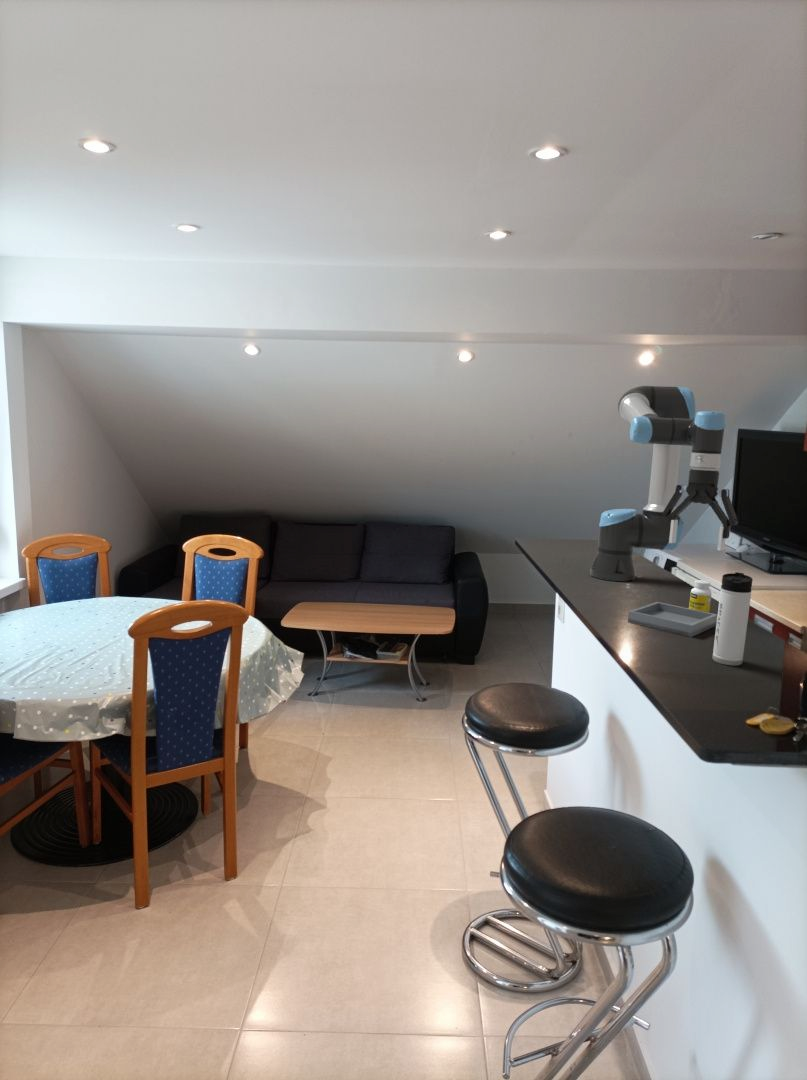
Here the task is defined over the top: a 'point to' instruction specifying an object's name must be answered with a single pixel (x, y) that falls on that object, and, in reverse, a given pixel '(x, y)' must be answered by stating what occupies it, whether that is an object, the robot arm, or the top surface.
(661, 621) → the tray
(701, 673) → the top surface
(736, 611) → the travel mug
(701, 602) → the supplement bottle
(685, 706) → the top surface
